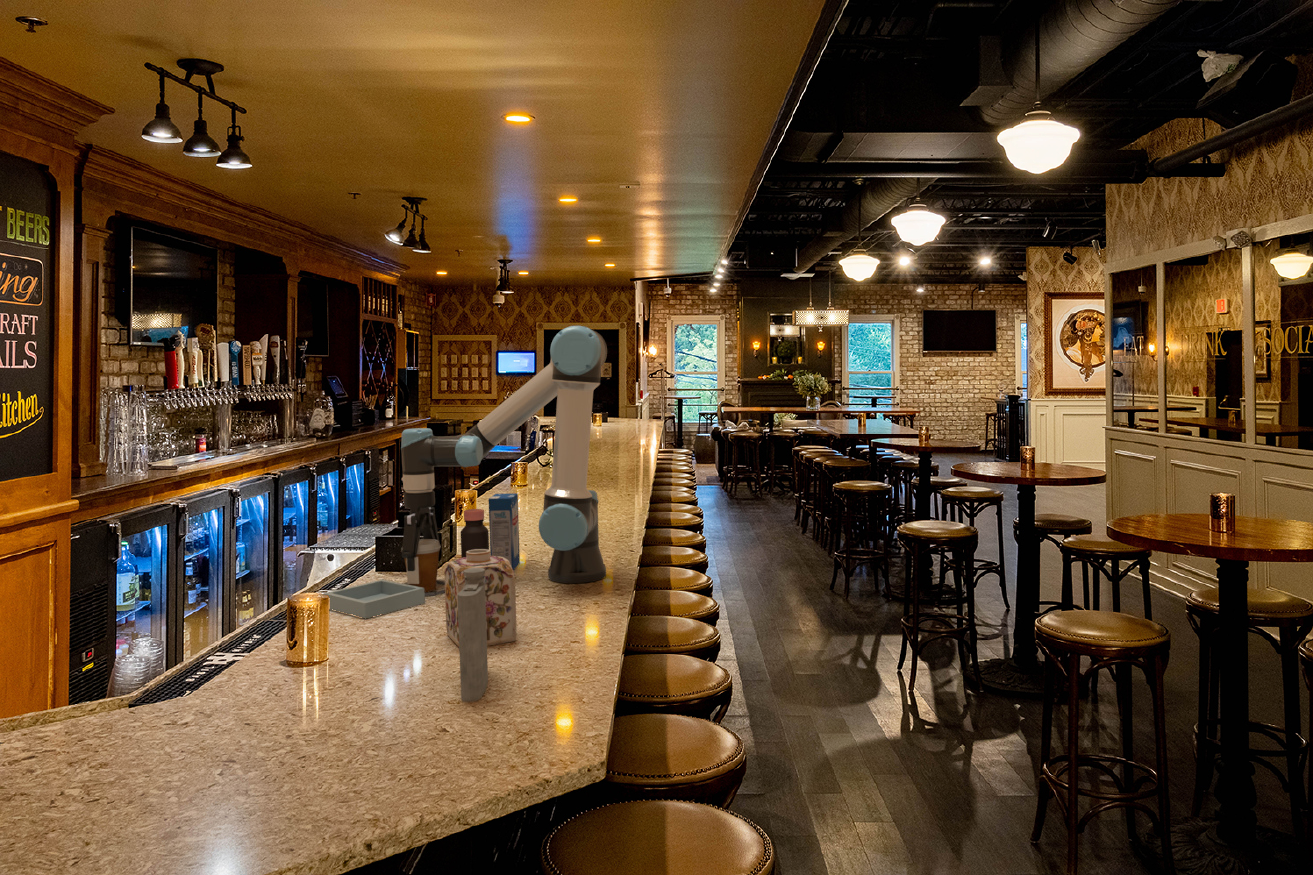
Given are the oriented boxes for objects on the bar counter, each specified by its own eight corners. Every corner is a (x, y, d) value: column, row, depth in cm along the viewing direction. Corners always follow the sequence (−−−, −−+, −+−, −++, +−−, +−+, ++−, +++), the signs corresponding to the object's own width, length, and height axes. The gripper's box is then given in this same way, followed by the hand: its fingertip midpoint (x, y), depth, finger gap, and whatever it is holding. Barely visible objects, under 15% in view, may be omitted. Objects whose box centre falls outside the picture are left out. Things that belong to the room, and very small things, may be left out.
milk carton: (513, 570, 230) (511, 498, 229) (490, 571, 230) (488, 498, 229) (519, 562, 240) (517, 493, 239) (498, 563, 240) (495, 493, 239)
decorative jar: (459, 651, 163) (456, 559, 161) (445, 635, 173) (441, 548, 172) (519, 641, 168) (516, 552, 167) (501, 626, 178) (498, 542, 177)
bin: (424, 603, 198) (424, 587, 198) (365, 619, 186) (364, 603, 185) (383, 593, 208) (382, 579, 208) (324, 608, 195) (323, 593, 195)
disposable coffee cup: (447, 585, 216) (446, 538, 215) (434, 594, 206) (432, 546, 205) (411, 584, 217) (410, 538, 216) (396, 594, 207) (394, 546, 206)
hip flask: (468, 669, 152) (464, 559, 151) (491, 667, 153) (488, 558, 151) (460, 702, 137) (455, 580, 135) (485, 700, 137) (481, 579, 136)
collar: (464, 587, 213) (464, 584, 213) (417, 600, 201) (417, 596, 201) (427, 579, 222) (427, 576, 221) (380, 591, 210) (380, 588, 210)
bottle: (457, 592, 208) (454, 511, 206) (472, 585, 214) (470, 507, 213) (480, 594, 205) (477, 513, 204) (495, 587, 212) (493, 508, 210)
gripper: (422, 484, 221) (425, 567, 223) (384, 497, 198) (388, 589, 200) (450, 484, 221) (453, 567, 222) (414, 497, 198) (418, 589, 199)
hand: (422, 577), depth 211 cm, fingers open, 11 cm apart
